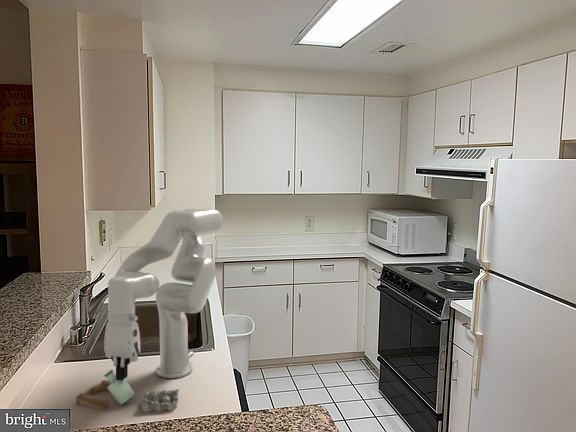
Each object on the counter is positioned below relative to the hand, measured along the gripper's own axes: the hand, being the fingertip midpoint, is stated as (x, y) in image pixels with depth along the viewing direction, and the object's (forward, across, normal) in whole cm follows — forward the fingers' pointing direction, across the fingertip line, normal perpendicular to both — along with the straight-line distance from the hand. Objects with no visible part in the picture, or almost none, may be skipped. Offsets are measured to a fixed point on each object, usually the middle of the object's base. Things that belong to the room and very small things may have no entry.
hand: (121, 378), depth 135 cm
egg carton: (+9, -11, -4) cm, 14 cm away
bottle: (+7, -1, -2) cm, 7 cm away
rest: (+8, +8, -2) cm, 11 cm away
